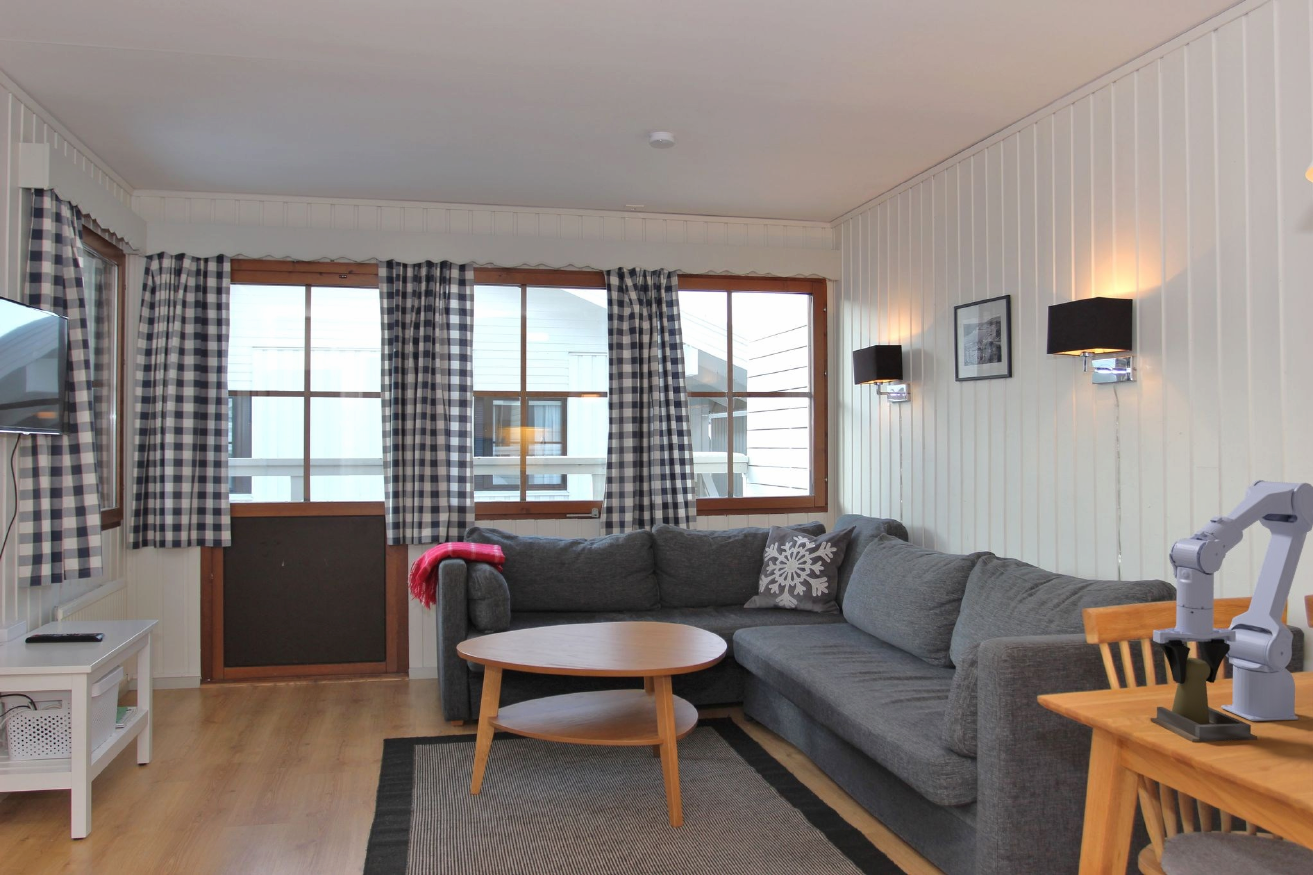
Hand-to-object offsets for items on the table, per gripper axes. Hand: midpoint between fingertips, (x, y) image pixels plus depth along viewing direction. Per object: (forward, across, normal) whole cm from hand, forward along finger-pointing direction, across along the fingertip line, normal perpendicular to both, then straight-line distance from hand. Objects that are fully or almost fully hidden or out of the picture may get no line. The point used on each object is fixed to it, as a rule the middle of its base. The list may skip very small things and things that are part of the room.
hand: (1193, 681), depth 163 cm
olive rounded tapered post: (+7, 0, 0) cm, 7 cm away
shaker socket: (+8, 0, +1) cm, 8 cm away
